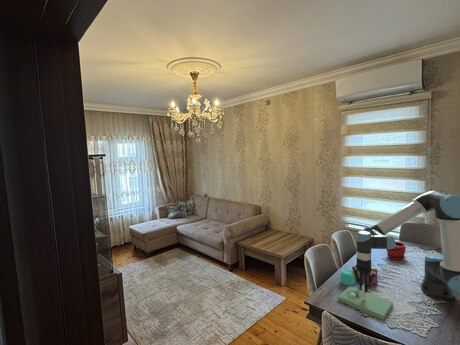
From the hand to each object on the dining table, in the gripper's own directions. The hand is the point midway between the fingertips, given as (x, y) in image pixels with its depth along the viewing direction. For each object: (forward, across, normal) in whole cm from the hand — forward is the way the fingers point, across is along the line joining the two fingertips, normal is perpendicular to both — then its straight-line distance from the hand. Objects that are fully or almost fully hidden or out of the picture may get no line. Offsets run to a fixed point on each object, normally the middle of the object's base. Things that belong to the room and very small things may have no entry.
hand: (363, 296), depth 139 cm
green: (+4, 0, 0) cm, 4 cm away
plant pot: (+4, +4, -77) cm, 77 cm away
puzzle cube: (+4, +8, -28) cm, 30 cm away
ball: (+2, +6, 0) cm, 7 cm away
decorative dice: (+4, +16, -15) cm, 22 cm away
